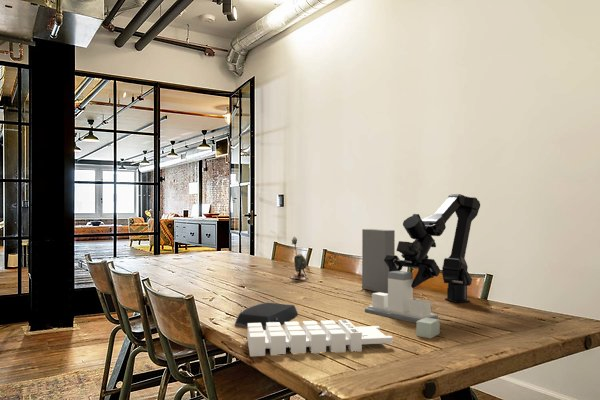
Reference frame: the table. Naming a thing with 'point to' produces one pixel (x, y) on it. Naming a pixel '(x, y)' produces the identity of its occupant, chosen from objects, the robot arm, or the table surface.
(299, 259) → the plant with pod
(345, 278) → the table surface
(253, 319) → the dark grey faceted block
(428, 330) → the box
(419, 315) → the board
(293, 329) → the organizer
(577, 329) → the table surface
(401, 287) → the block
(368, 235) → the tall upright grey panel
